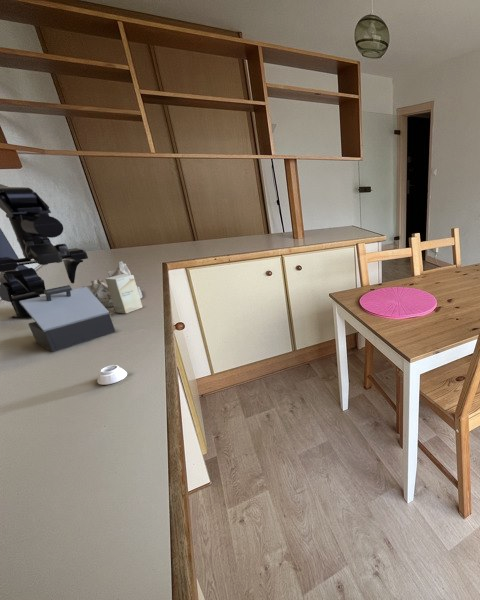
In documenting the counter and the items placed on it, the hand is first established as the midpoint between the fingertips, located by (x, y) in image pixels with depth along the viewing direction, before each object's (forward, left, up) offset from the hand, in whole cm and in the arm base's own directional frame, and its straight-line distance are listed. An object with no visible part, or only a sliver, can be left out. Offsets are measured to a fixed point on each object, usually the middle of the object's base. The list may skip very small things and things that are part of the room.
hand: (52, 287), depth 93 cm
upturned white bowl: (+37, -30, -12) cm, 49 cm away
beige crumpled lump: (-1, +21, -12) cm, 24 cm away
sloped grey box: (+11, -9, -12) cm, 19 cm away
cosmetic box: (+11, +11, -12) cm, 20 cm away
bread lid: (+11, -9, -3) cm, 15 cm away
